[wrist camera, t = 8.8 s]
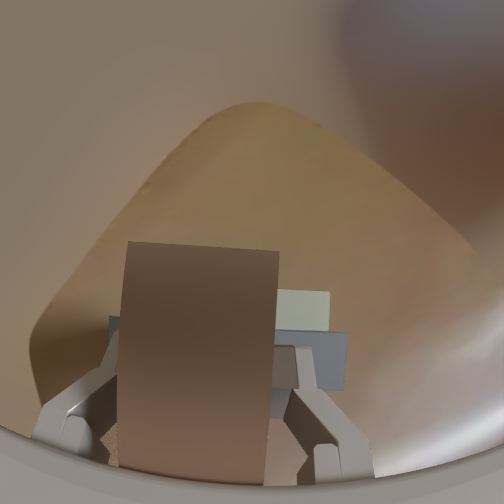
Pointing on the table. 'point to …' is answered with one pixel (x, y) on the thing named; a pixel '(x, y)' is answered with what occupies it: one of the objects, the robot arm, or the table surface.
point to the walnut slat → (196, 361)
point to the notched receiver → (304, 333)
